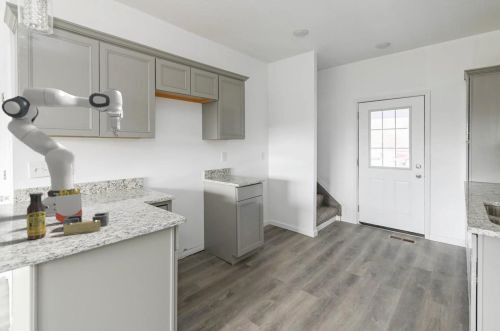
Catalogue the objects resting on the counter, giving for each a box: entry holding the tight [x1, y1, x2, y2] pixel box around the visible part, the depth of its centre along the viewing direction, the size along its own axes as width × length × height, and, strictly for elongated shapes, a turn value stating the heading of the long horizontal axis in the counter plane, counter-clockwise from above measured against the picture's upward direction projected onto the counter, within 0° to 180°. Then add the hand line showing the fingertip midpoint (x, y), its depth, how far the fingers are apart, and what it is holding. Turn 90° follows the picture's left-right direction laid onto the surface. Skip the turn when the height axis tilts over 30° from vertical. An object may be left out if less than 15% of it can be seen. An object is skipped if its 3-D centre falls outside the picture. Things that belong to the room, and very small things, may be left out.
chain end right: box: [92, 212, 110, 227], centre depth 126 cm, size 6×8×5 cm
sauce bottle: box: [26, 192, 47, 240], centre depth 107 cm, size 7×6×20 cm
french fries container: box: [55, 188, 83, 224], centre depth 130 cm, size 5×11×18 cm, turn 136°
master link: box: [62, 219, 102, 236], centre depth 115 cm, size 14×3×5 cm, turn 113°
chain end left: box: [62, 214, 83, 231], centre depth 121 cm, size 6×8×5 cm
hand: (116, 136), depth 158 cm, fingers open, 8 cm apart
